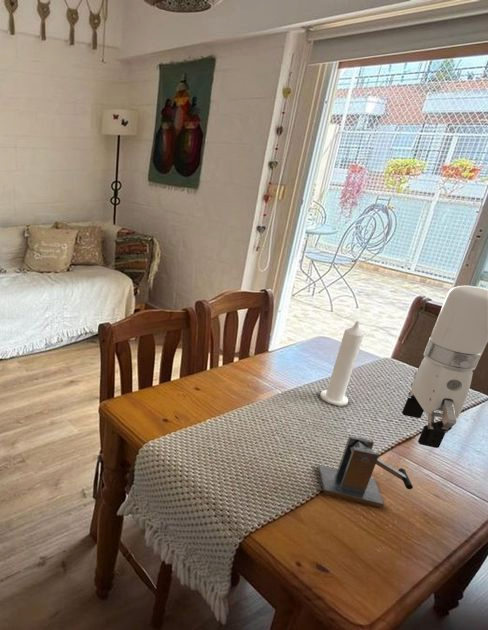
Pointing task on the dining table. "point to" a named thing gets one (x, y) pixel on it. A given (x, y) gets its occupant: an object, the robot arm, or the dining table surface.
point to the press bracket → (353, 475)
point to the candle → (343, 366)
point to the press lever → (388, 467)
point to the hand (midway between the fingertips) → (418, 429)
